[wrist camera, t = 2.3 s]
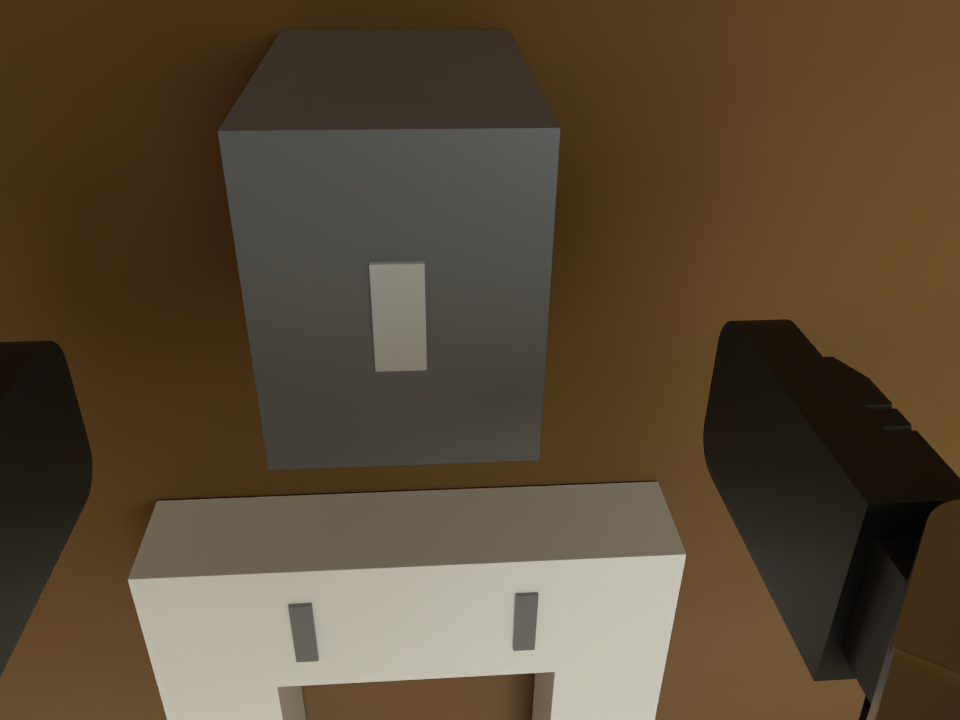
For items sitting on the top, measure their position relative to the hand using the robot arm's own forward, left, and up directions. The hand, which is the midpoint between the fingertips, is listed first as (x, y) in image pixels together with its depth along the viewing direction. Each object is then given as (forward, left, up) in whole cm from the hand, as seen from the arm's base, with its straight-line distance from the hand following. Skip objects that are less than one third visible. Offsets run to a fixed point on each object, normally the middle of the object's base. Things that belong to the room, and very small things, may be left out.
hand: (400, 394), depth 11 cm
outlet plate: (+14, 0, -7) cm, 16 cm away
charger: (-1, 0, -7) cm, 7 cm away
